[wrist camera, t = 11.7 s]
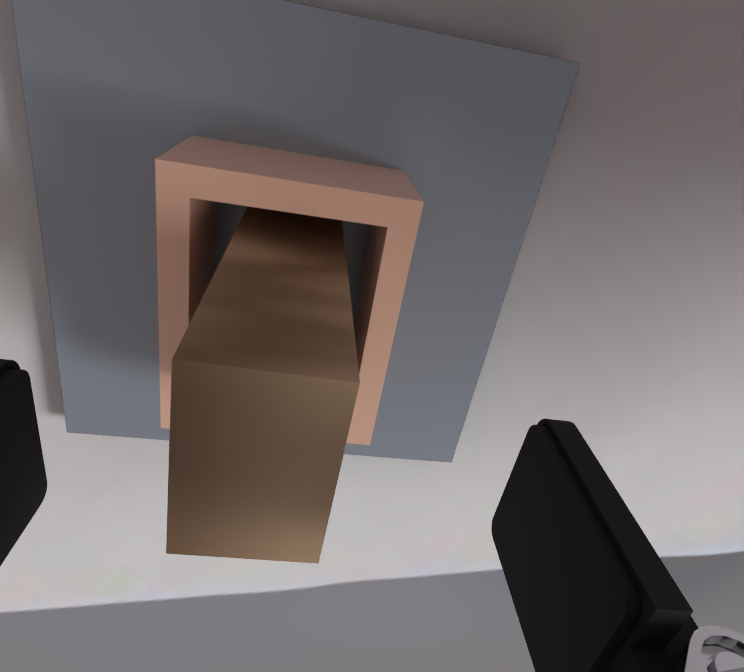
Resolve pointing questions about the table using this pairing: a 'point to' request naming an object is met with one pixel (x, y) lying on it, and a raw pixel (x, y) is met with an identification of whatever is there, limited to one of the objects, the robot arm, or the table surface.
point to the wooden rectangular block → (264, 394)
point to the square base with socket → (279, 190)
